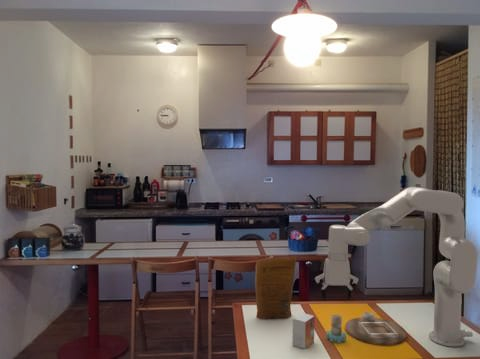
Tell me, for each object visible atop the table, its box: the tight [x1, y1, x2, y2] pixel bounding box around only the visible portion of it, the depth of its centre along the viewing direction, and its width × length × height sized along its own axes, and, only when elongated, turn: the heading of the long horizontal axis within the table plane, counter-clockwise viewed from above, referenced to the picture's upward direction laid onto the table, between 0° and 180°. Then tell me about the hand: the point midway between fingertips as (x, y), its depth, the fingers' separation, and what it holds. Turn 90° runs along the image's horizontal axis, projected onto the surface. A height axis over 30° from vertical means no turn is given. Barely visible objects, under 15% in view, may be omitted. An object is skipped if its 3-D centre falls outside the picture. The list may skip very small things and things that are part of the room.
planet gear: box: [325, 314, 347, 344], centre depth 162 cm, size 8×8×9 cm
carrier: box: [344, 311, 407, 346], centre depth 169 cm, size 24×24×4 cm
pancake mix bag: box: [254, 256, 297, 320], centre depth 183 cm, size 7×19×28 cm, turn 98°
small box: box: [292, 312, 316, 349], centre depth 157 cm, size 8×6×10 cm
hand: (335, 298), depth 161 cm, fingers open, 9 cm apart
